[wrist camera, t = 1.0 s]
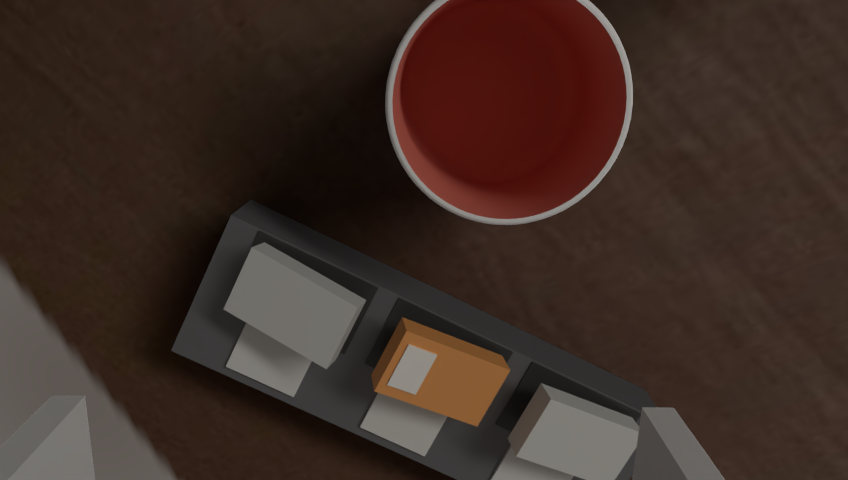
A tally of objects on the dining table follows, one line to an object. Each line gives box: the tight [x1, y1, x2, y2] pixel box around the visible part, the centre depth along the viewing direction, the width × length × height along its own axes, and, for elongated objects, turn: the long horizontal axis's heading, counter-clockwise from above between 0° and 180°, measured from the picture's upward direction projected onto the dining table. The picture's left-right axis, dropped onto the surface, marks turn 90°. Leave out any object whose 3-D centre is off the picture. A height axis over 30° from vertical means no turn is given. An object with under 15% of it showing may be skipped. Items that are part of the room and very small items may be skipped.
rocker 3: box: [508, 383, 639, 480], centre depth 36 cm, size 6×4×2 cm, turn 64°
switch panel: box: [171, 200, 656, 480], centre depth 39 cm, size 26×8×4 cm, turn 63°
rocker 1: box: [224, 242, 366, 369], centre depth 34 cm, size 6×4×2 cm, turn 63°
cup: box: [385, 0, 633, 225], centre depth 32 cm, size 10×10×10 cm
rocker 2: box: [371, 317, 510, 426], centre depth 35 cm, size 6×4×2 cm, turn 64°
